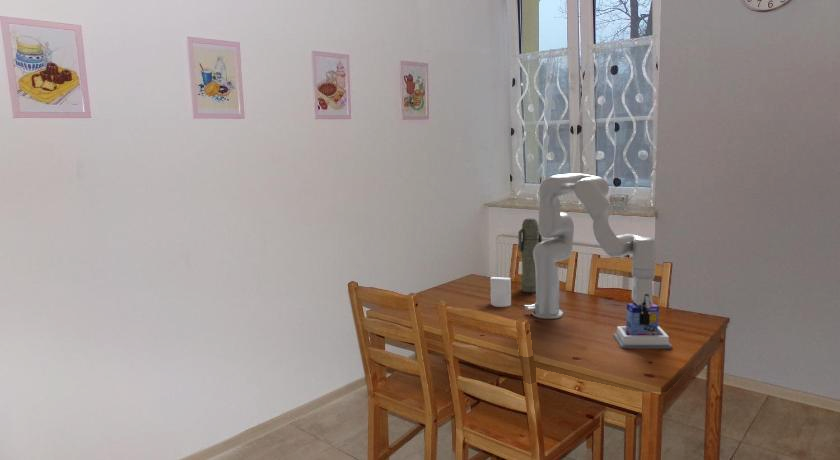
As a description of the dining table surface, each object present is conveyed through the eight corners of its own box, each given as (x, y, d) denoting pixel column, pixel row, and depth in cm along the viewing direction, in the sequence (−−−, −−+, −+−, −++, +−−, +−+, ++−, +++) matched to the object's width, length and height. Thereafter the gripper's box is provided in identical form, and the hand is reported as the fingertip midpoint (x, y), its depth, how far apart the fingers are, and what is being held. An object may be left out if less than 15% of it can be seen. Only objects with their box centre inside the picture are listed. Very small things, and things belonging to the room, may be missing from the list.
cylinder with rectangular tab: (488, 306, 255) (488, 280, 253) (493, 300, 263) (493, 275, 261) (508, 307, 252) (508, 281, 250) (513, 301, 260) (512, 276, 258)
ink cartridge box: (631, 340, 201) (632, 301, 199) (624, 335, 207) (625, 296, 205) (658, 338, 202) (659, 299, 200) (650, 333, 208) (652, 295, 205)
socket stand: (621, 348, 199) (621, 337, 199) (613, 335, 212) (613, 325, 211) (672, 348, 197) (672, 337, 197) (661, 335, 210) (661, 325, 209)
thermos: (546, 290, 277) (545, 219, 271) (526, 293, 272) (525, 221, 266) (535, 286, 285) (534, 217, 279) (515, 289, 280) (514, 219, 274)
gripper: (626, 266, 209) (625, 313, 212) (638, 278, 193) (637, 329, 196) (647, 266, 209) (646, 313, 212) (661, 278, 192) (660, 329, 195)
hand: (641, 320), depth 203 cm, fingers closed on ink cartridge box, 5 cm apart
